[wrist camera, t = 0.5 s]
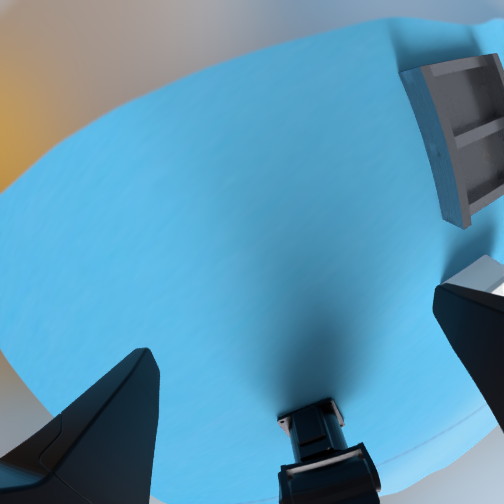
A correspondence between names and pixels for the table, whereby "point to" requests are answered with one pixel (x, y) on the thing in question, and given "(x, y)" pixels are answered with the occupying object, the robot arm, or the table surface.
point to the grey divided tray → (461, 130)
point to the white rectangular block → (481, 276)
